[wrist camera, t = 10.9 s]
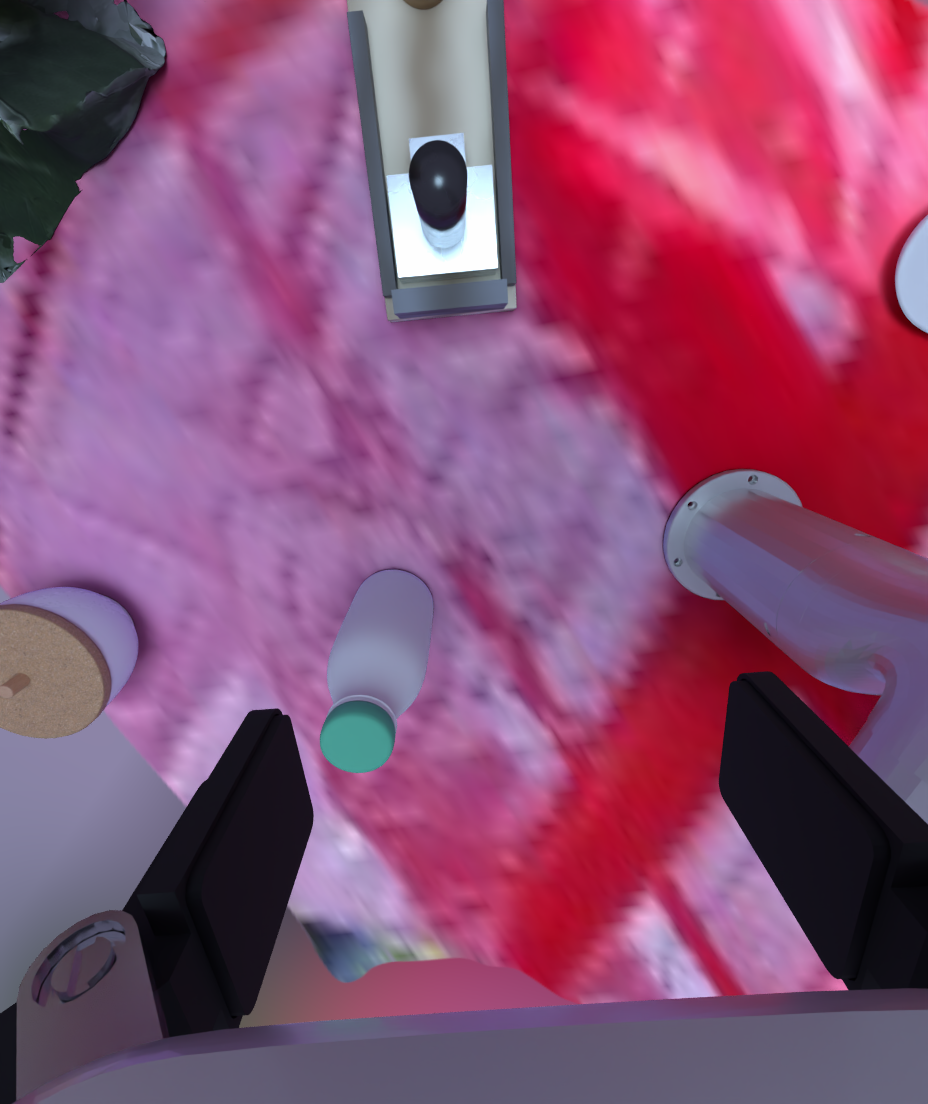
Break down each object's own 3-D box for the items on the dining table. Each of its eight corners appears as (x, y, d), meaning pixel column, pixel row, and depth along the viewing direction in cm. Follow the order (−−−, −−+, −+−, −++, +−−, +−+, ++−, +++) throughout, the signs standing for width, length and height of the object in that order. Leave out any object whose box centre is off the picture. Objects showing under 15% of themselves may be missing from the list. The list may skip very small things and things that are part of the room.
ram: (487, 145, 35) (500, 42, 24) (495, 274, 38) (509, 236, 27) (387, 155, 35) (354, 58, 24) (402, 283, 38) (378, 249, 27)
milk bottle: (348, 572, 48) (278, 701, 30) (427, 562, 48) (407, 686, 29) (364, 641, 51) (308, 801, 32) (439, 632, 51) (427, 788, 32)
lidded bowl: (34, 550, 48) (-84, 601, 37) (170, 588, 49) (92, 648, 39) (30, 660, 52) (-78, 733, 41) (155, 692, 53) (81, 771, 43)
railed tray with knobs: (493, -122, 32) (500, -226, 26) (513, 310, 41) (522, 301, 35) (337, -104, 32) (311, -203, 27) (391, 322, 41) (379, 315, 35)
